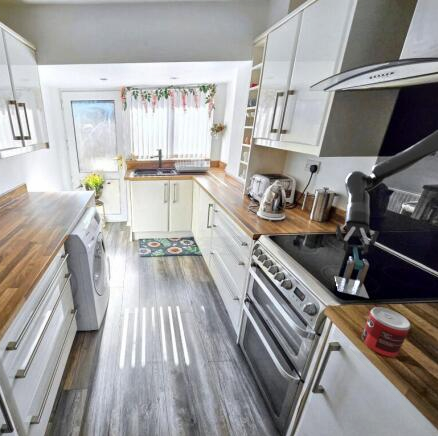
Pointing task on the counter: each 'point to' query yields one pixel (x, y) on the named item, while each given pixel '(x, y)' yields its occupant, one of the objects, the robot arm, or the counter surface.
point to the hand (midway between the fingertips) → (354, 252)
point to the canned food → (385, 331)
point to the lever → (356, 256)
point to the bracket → (353, 285)
